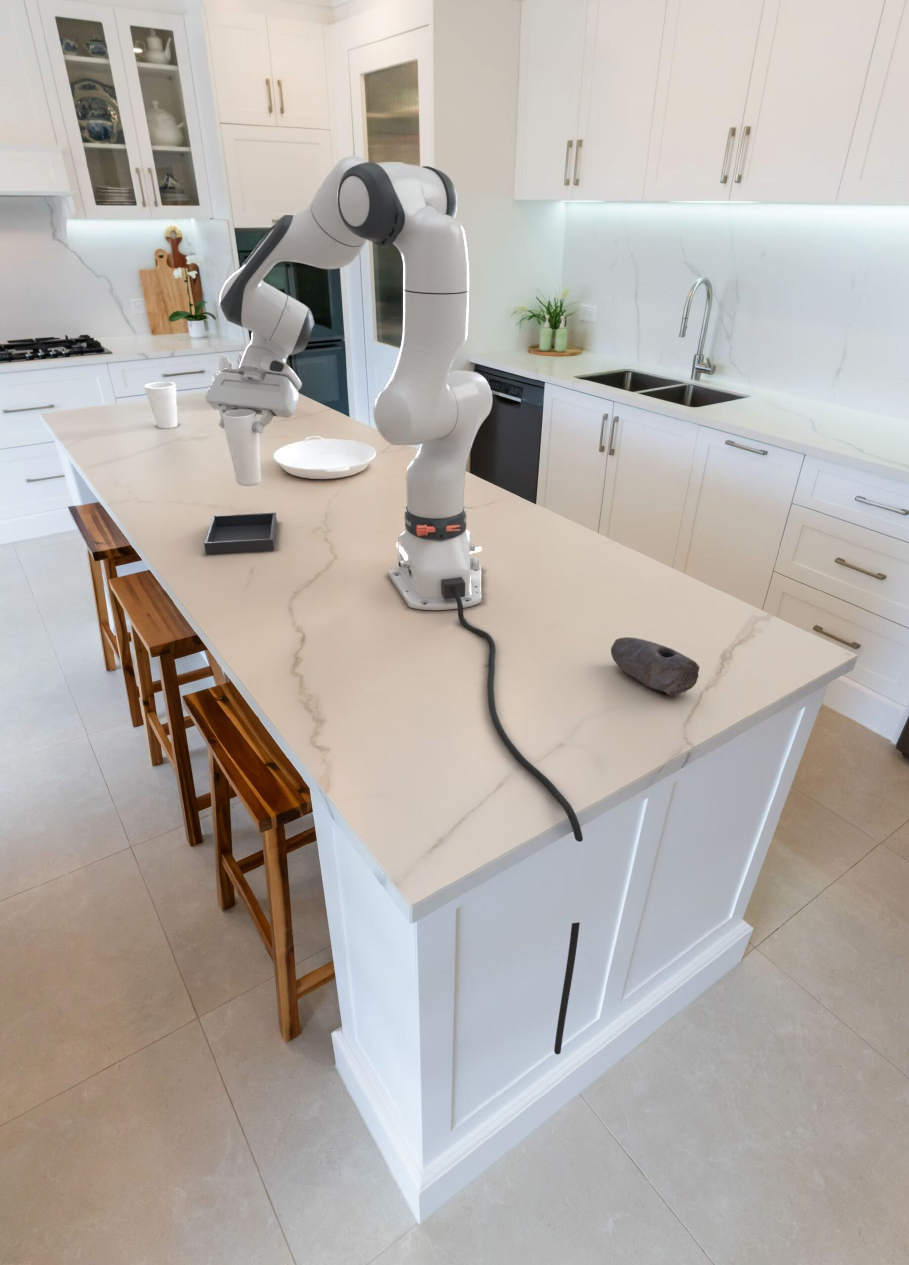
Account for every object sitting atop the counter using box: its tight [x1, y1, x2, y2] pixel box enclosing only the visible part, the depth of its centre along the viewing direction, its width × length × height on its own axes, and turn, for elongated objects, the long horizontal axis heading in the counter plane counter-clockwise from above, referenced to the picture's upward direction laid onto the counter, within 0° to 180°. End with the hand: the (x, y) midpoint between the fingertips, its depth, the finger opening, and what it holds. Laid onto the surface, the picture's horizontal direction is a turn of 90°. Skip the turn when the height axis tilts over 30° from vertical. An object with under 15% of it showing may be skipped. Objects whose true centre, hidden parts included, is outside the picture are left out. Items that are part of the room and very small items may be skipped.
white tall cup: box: [223, 409, 262, 487], centre depth 155 cm, size 7×7×15 cm
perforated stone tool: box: [610, 636, 700, 697], centre depth 116 cm, size 15×5×7 cm, turn 40°
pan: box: [272, 435, 377, 480], centre depth 207 cm, size 34×28×4 cm
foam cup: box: [144, 381, 178, 429], centre depth 239 cm, size 10×9×13 cm
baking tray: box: [203, 512, 278, 556], centre depth 164 cm, size 16×14×3 cm
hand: (240, 429), depth 153 cm, fingers closed on white tall cup, 7 cm apart
